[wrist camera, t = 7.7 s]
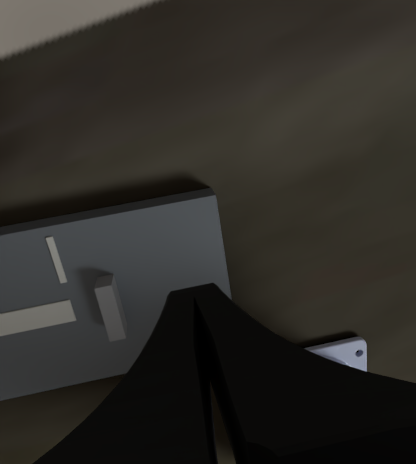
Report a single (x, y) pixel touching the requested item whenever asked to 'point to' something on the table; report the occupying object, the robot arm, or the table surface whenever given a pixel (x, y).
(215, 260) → the console
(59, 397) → the table surface
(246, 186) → the table surface
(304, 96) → the table surface
